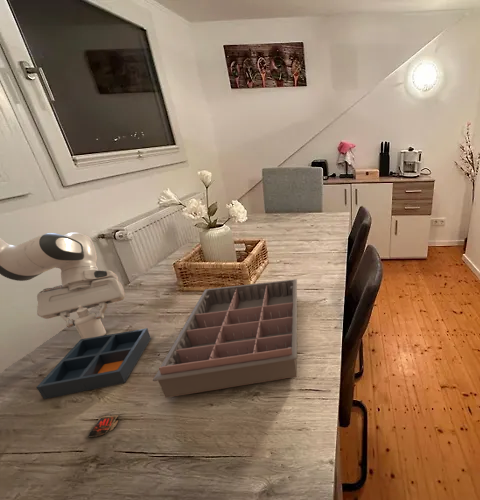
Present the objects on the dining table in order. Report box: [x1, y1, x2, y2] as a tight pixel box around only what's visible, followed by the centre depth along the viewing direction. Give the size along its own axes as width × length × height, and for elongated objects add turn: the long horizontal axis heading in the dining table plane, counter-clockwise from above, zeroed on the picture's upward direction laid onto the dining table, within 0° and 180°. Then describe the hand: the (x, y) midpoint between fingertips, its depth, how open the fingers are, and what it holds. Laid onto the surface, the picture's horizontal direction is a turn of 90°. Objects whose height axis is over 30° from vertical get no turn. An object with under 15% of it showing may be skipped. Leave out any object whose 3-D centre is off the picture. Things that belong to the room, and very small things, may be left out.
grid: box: [36, 327, 152, 400], centre depth 77 cm, size 17×17×4 cm
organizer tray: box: [152, 278, 298, 399], centre depth 84 cm, size 32×40×10 cm
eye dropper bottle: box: [74, 305, 107, 339], centre depth 86 cm, size 4×6×12 cm
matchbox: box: [87, 414, 119, 438], centre depth 61 cm, size 5×5×1 cm
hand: (86, 322), depth 85 cm, fingers closed on eye dropper bottle, 5 cm apart
